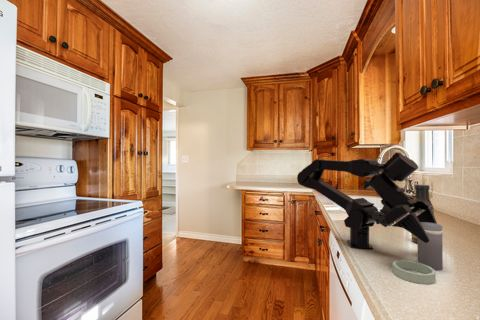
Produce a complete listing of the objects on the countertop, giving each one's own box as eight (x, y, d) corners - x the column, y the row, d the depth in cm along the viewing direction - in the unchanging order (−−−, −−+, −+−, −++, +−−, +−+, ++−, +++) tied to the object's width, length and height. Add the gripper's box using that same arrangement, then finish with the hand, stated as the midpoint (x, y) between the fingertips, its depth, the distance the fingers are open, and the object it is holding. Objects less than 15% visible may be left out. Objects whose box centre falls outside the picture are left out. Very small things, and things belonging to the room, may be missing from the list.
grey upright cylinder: (412, 263, 66) (412, 222, 66) (427, 261, 67) (426, 221, 67) (432, 271, 60) (432, 227, 61) (448, 269, 62) (447, 226, 62)
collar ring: (388, 266, 63) (388, 259, 63) (423, 269, 61) (423, 261, 61) (401, 281, 55) (401, 272, 55) (443, 285, 53) (443, 276, 53)
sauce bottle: (435, 247, 78) (434, 186, 78) (411, 243, 82) (411, 184, 82) (433, 241, 83) (433, 184, 84) (411, 238, 87) (411, 183, 87)
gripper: (382, 204, 82) (420, 247, 73) (353, 210, 71) (393, 261, 62) (410, 184, 75) (455, 227, 66) (382, 186, 65) (432, 239, 56)
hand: (434, 239), depth 63 cm, fingers open, 9 cm apart
